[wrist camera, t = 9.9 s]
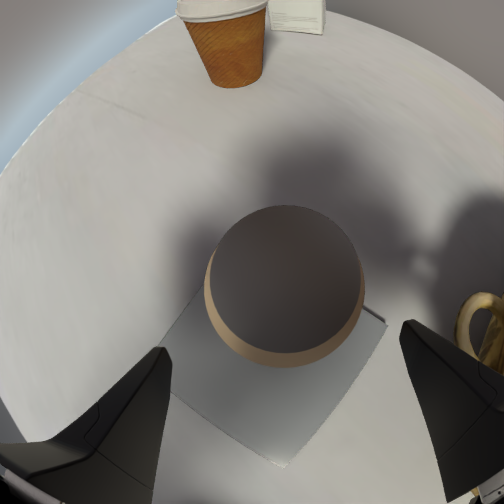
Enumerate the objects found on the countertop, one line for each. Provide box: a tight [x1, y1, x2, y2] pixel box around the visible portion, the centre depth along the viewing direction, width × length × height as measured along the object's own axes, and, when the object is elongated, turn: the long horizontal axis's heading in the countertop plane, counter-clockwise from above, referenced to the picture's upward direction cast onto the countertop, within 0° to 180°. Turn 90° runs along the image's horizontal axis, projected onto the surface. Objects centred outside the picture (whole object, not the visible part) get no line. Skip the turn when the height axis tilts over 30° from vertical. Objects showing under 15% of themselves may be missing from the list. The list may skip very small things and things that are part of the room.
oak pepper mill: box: [204, 205, 365, 368], centre depth 13 cm, size 5×5×12 cm
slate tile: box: [158, 284, 388, 469], centre depth 19 cm, size 13×13×1 cm
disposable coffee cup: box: [175, 0, 269, 88], centre depth 23 cm, size 10×10×12 cm
